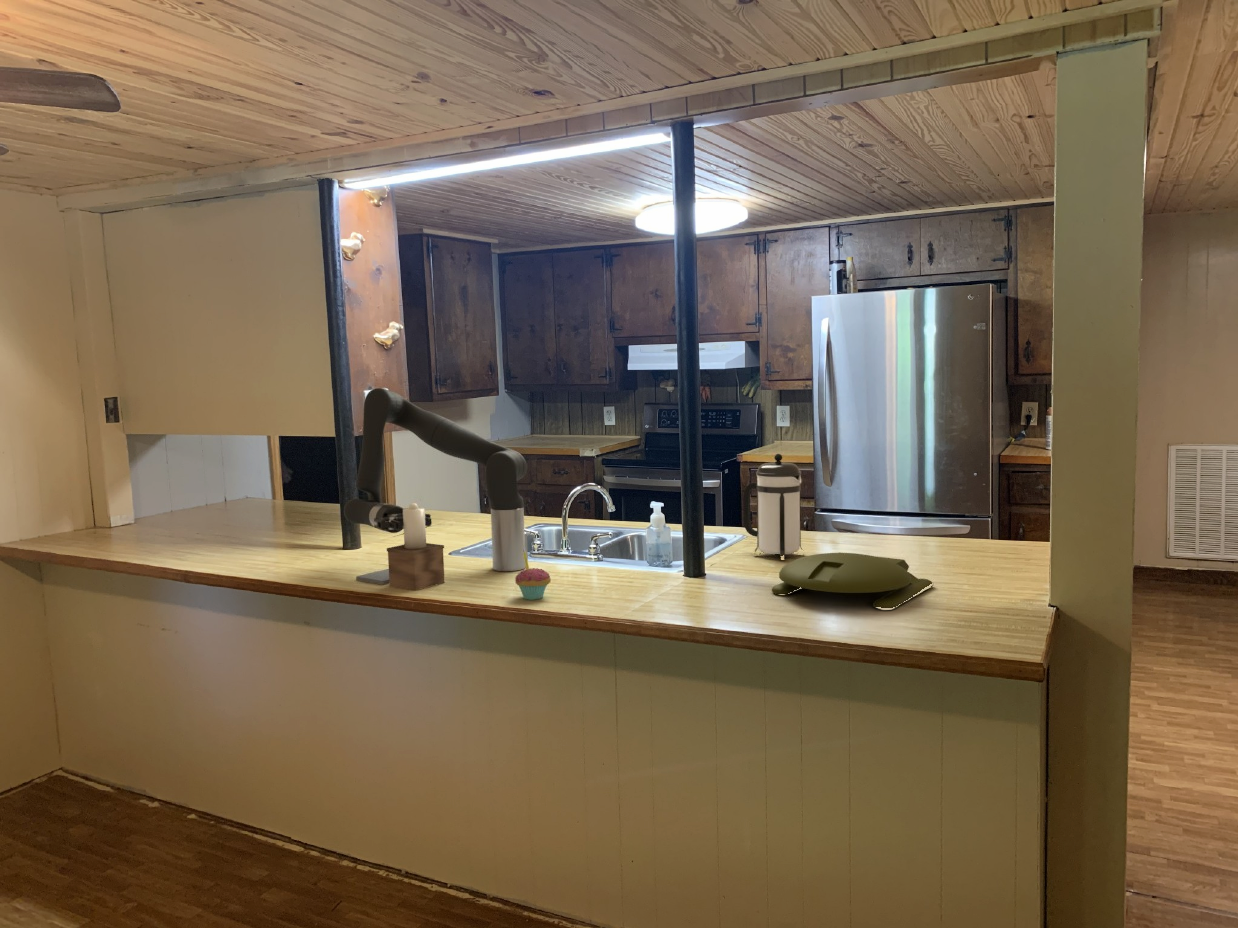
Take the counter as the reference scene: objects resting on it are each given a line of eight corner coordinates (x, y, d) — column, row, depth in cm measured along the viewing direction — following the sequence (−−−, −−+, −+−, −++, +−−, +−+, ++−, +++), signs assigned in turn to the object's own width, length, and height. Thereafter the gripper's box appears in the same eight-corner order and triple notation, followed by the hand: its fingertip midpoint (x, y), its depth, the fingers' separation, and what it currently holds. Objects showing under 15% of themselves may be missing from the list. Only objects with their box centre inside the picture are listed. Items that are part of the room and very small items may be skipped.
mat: (391, 571, 252) (390, 568, 252) (417, 575, 245) (417, 572, 245) (356, 579, 242) (356, 576, 242) (383, 584, 236) (383, 580, 235)
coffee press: (801, 550, 269) (801, 451, 266) (807, 561, 253) (807, 455, 250) (743, 550, 270) (742, 451, 268) (745, 561, 255) (744, 456, 252)
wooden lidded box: (418, 578, 242) (416, 541, 242) (445, 582, 236) (444, 545, 236) (388, 585, 234) (386, 548, 233) (415, 590, 228) (413, 551, 227)
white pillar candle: (416, 544, 238) (414, 500, 237) (430, 545, 235) (428, 502, 234) (399, 547, 234) (397, 503, 233) (414, 549, 230) (412, 505, 229)
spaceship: (820, 573, 239) (820, 537, 238) (936, 588, 220) (936, 549, 219) (755, 601, 212) (755, 560, 211) (881, 620, 193) (881, 576, 192)
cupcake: (518, 602, 213) (517, 553, 212) (513, 594, 221) (511, 547, 220) (554, 599, 216) (552, 550, 214) (547, 591, 224) (545, 544, 223)
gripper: (362, 507, 241) (388, 513, 229) (411, 501, 250) (438, 506, 238) (364, 534, 242) (390, 541, 229) (412, 527, 251) (440, 534, 238)
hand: (414, 524), depth 234 cm, fingers open, 8 cm apart
